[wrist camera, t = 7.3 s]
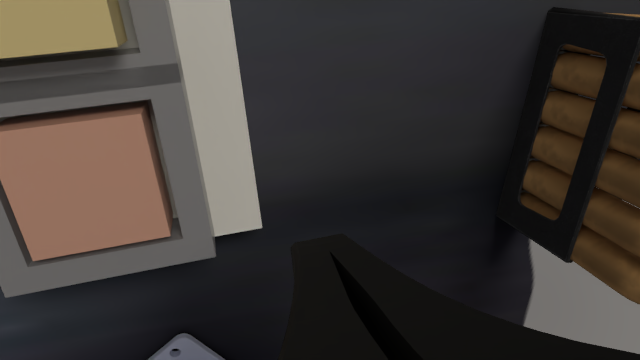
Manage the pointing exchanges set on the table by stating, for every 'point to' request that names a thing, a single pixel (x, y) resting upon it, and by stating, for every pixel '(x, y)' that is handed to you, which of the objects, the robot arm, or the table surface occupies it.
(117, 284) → the table surface
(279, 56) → the table surface
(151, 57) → the button pad
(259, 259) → the table surface
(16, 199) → the terracotta key
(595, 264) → the ammunition clip
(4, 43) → the ochre key
